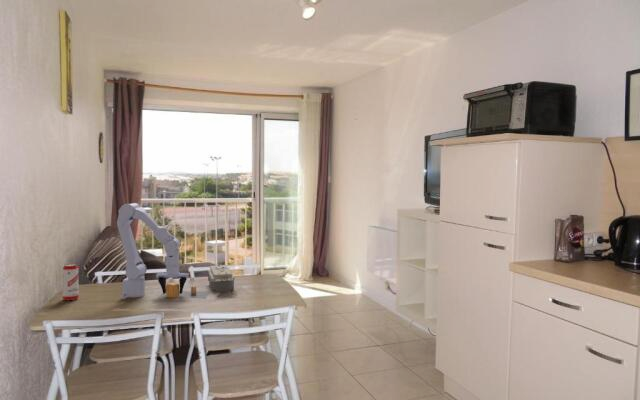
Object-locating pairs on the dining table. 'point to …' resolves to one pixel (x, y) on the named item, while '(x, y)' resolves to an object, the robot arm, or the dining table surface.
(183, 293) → the wiring board
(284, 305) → the dining table surface
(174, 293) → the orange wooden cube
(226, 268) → the gray toolbox
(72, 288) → the beer can
